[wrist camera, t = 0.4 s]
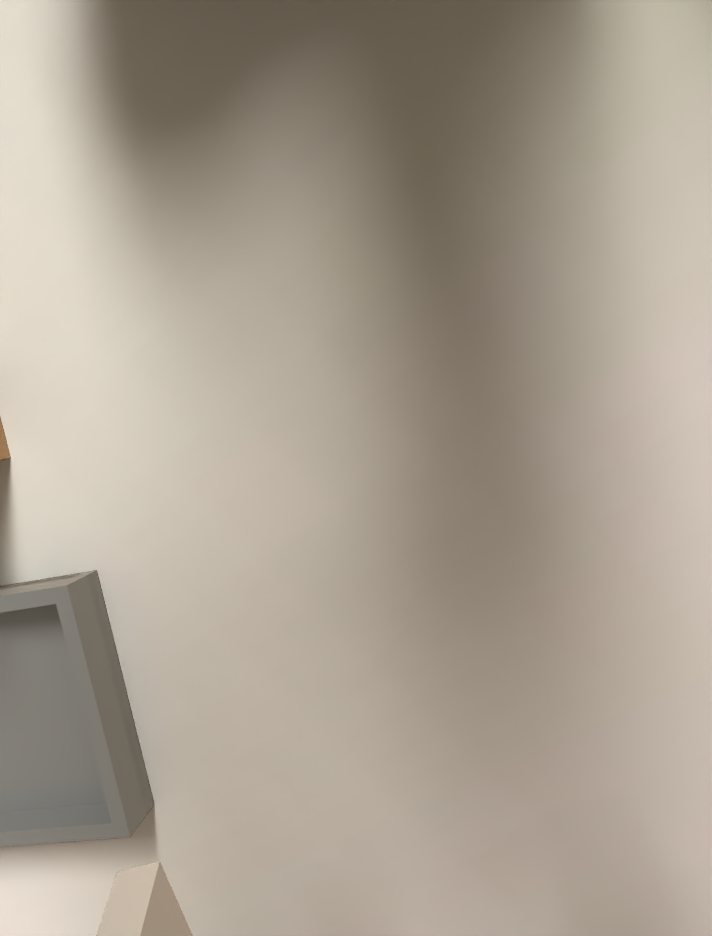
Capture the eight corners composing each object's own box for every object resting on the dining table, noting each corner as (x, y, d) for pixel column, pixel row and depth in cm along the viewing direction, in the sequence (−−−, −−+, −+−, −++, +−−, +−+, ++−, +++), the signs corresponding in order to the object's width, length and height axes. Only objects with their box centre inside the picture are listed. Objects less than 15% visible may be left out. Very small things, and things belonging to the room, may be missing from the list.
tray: (-114, 604, 41) (-157, 621, 38) (96, 570, 38) (66, 585, 35) (-53, 821, 43) (-90, 853, 40) (154, 804, 40) (130, 837, 37)
